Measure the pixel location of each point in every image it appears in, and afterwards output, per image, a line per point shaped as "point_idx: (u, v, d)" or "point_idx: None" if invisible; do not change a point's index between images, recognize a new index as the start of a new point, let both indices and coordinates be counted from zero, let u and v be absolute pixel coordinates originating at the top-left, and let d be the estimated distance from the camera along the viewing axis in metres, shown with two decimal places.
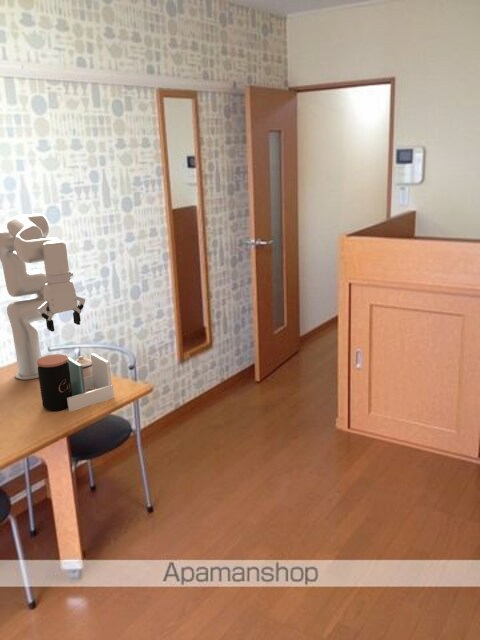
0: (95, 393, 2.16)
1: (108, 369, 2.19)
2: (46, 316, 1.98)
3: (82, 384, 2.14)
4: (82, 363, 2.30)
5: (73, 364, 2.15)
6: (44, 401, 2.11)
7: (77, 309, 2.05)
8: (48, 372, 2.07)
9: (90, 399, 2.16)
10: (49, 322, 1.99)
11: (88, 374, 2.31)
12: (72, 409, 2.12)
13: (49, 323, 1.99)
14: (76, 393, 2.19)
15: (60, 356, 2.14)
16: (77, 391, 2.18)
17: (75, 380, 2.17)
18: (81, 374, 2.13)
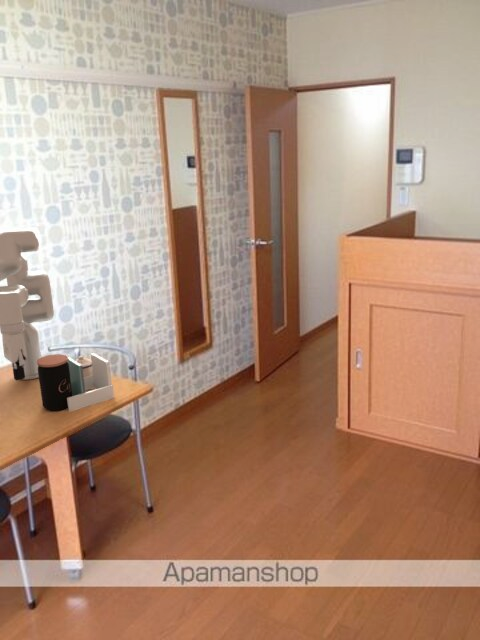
0: (95, 393, 2.16)
1: (108, 369, 2.19)
2: None
3: (82, 384, 2.14)
4: (82, 363, 2.30)
5: (73, 364, 2.15)
6: (44, 401, 2.11)
7: None
8: (48, 372, 2.07)
9: (90, 399, 2.16)
10: None
11: (88, 374, 2.31)
12: (72, 409, 2.12)
13: (22, 371, 2.04)
14: (76, 393, 2.19)
15: (60, 356, 2.14)
16: (77, 391, 2.18)
17: (75, 380, 2.17)
18: (81, 374, 2.13)
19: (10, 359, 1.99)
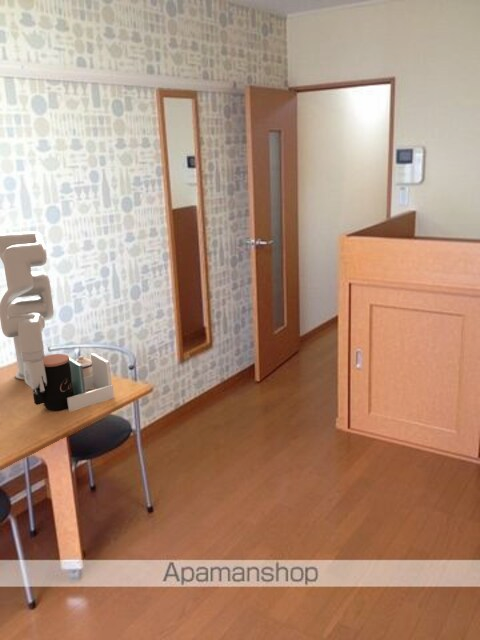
0: (95, 393, 2.16)
1: (108, 369, 2.19)
2: None
3: (82, 384, 2.14)
4: (82, 363, 2.30)
5: (73, 364, 2.15)
6: (45, 401, 2.12)
7: None
8: (50, 371, 2.07)
9: (90, 399, 2.16)
10: None
11: (88, 374, 2.31)
12: (72, 409, 2.12)
13: (42, 396, 2.10)
14: (76, 393, 2.19)
15: (61, 356, 2.14)
16: (77, 391, 2.18)
17: (75, 380, 2.17)
18: (81, 374, 2.13)
19: (31, 385, 2.06)
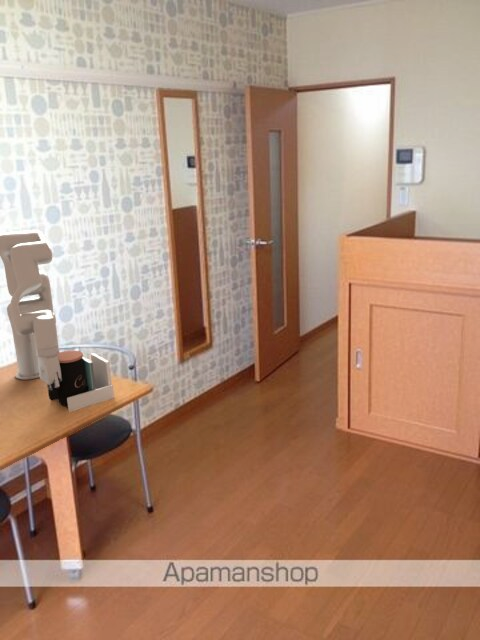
0: (95, 393, 2.16)
1: (108, 369, 2.19)
2: None
3: (92, 382, 2.16)
4: None
5: None
6: (60, 397, 2.15)
7: None
8: (65, 368, 2.10)
9: (90, 399, 2.16)
10: None
11: None
12: (72, 409, 2.12)
13: None
14: None
15: (75, 352, 2.17)
16: (87, 388, 2.20)
17: None
18: (91, 371, 2.15)
19: (46, 381, 2.09)
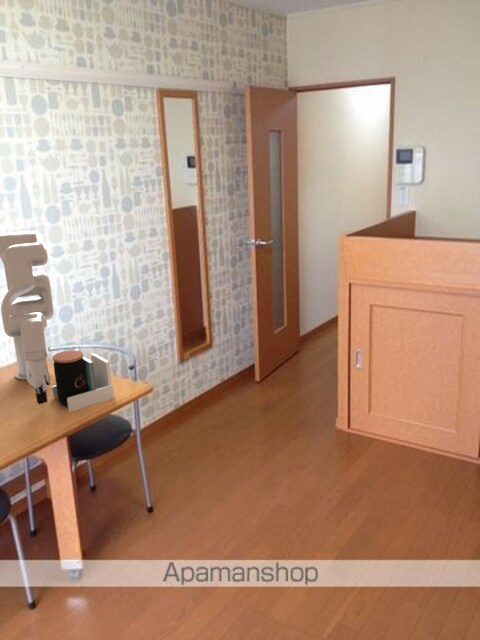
0: (95, 393, 2.16)
1: (108, 369, 2.19)
2: None
3: (93, 381, 2.16)
4: None
5: (84, 361, 2.18)
6: (60, 396, 2.15)
7: None
8: (65, 367, 2.10)
9: (90, 399, 2.16)
10: None
11: None
12: (72, 409, 2.12)
13: (44, 395, 2.11)
14: None
15: (75, 352, 2.17)
16: (88, 388, 2.20)
17: (86, 377, 2.20)
18: (92, 371, 2.15)
19: (34, 385, 2.06)
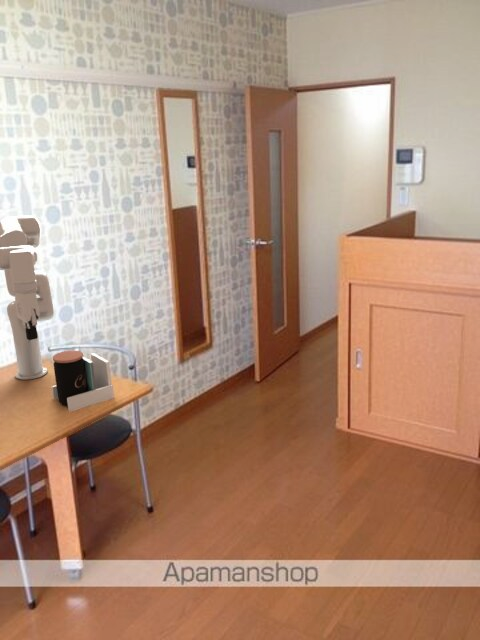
0: (95, 393, 2.16)
1: (108, 369, 2.19)
2: None
3: (93, 381, 2.16)
4: None
5: (84, 361, 2.18)
6: (60, 396, 2.15)
7: None
8: (65, 367, 2.10)
9: (90, 399, 2.16)
10: None
11: None
12: (72, 409, 2.12)
13: (34, 331, 2.04)
14: None
15: (75, 352, 2.17)
16: (88, 388, 2.20)
17: (86, 377, 2.20)
18: (92, 371, 2.15)
19: (23, 318, 1.99)
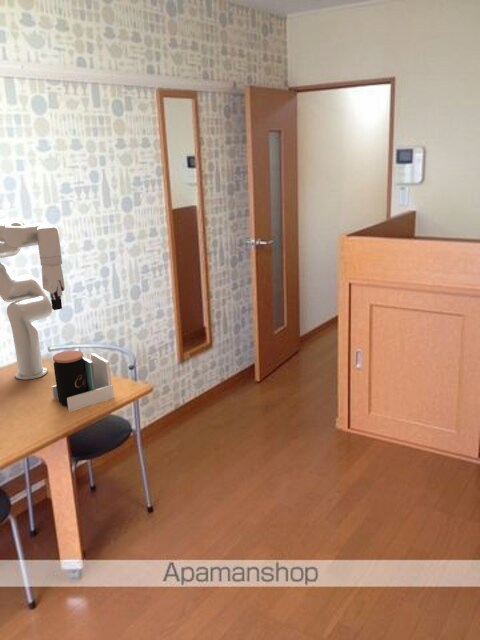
0: (95, 393, 2.16)
1: (108, 369, 2.19)
2: None
3: (93, 381, 2.16)
4: None
5: (84, 361, 2.18)
6: (60, 396, 2.15)
7: None
8: (65, 367, 2.10)
9: (90, 399, 2.16)
10: None
11: None
12: (72, 409, 2.12)
13: None
14: (87, 390, 2.22)
15: (75, 352, 2.17)
16: (88, 388, 2.20)
17: (86, 377, 2.20)
18: (92, 371, 2.15)
19: (49, 289, 2.16)
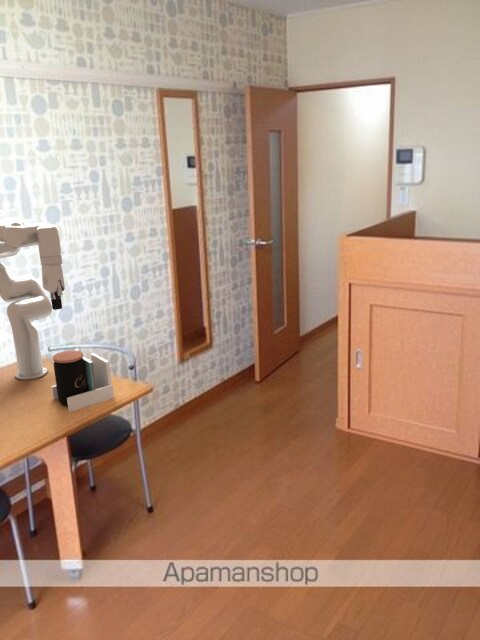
0: (95, 393, 2.16)
1: (108, 369, 2.19)
2: None
3: (93, 381, 2.16)
4: None
5: (84, 361, 2.18)
6: (60, 396, 2.15)
7: None
8: (65, 367, 2.10)
9: (90, 399, 2.16)
10: None
11: None
12: (72, 409, 2.12)
13: None
14: (87, 390, 2.22)
15: (75, 352, 2.17)
16: (88, 388, 2.20)
17: (86, 377, 2.20)
18: (92, 371, 2.15)
19: (49, 289, 2.16)
